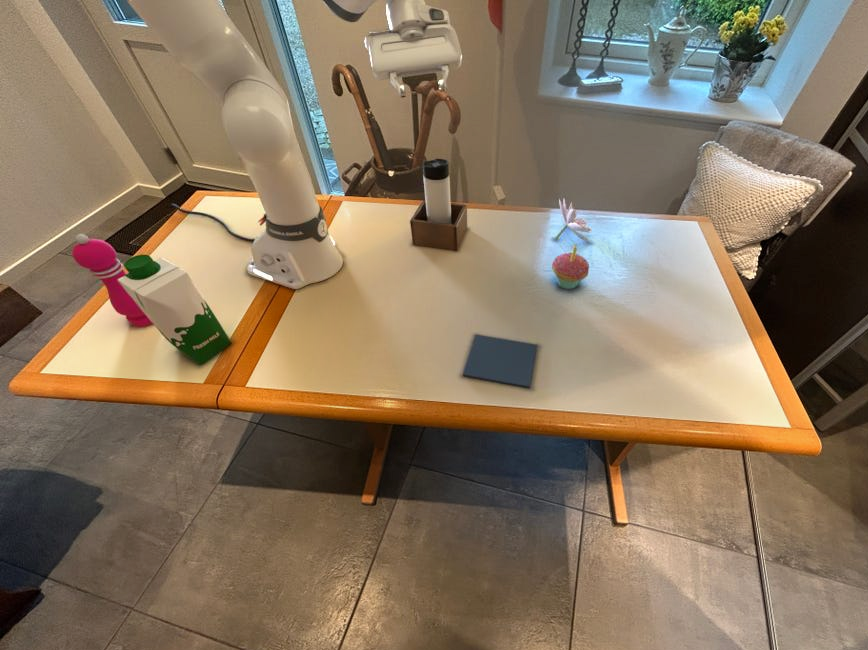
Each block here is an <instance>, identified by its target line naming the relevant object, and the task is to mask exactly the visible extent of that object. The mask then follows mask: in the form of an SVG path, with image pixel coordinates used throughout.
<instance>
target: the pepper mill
mask: <svg viewBox="0 0 868 650" xmlns="http://www.w3.org/2000/svg"><path fill="white" fill-rule="evenodd" d="M74 240H75V241H76V244H75V245H74V246H73V248H72V252H71V254H72V258H73V259H74V261H75V262H76V263H77V264H78V265H79V266H80V267H82V268H85V269H88V272H89V273H90V274H91V275H92V277H94V278H95V279H99V280H100V281H101V282H102V283H103V285H104V287H105V288H106V291H107V294H108V298H109V301H110V305H111V306H112V308H113V310H114V311H115V312H116V313H117V314H119V315H122V316H124V317H125V318H126V320H127V321H128V322H129V323H130V324H131V325H132V326H134V327H141V328H142V327H147V326H150V325H154V324H153V323H152V322H151V321H150V319H149V318H148V317H147V316H146V315H145V313H144V312H143V311H142V310H141V309H140V307H139V306H138V305H137V304H136V302H135V301H134V300H133V299H132V297H131V296H130V295H129V294H128V293H127V292H126V290H125V289H124V288H123V286H122V285H121V284H120V283H119V281H118V279H119V278H121V277H124V275H126V274H127V273H126V271H125V270H124V263H121V261H120V259H118V258H117V251H116V250H115V248H114V247H113V246H112V245H111V244H110V243H109V242H106V241H105V240H102V239H98V238H89V237H88V236H87V235H86V234H83V233H78V234H76V235H75V237H74Z"/></svg>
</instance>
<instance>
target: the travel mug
mask: <svg viewBox="0 0 868 650" xmlns="http://www.w3.org/2000/svg"><path fill="white" fill-rule="evenodd" d="M422 177H423V184H424V185H423V187H424V198H425V199H424V200H426V210H427V221H429V222H436V223H444V224H452V223H451V203H452V202H451V179H450V163H449V160H447V159H444V158H434V159H430V160H425V161H423V162H422Z"/></svg>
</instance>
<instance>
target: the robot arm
mask: <svg viewBox="0 0 868 650" xmlns="http://www.w3.org/2000/svg"><path fill="white" fill-rule="evenodd" d="M321 1H322V3H323V4H324V5H325V6H326V7H327V8H328V10H329V11H330V12H331V13H332V14H333V15H334V16H335V17H337V18H338V19H340V20H343V21H344V22H348V23H356V22H359V20H360V19H361V18H362V17H363V15H364V14H365V13H366V12H367V11H368V9H369V8H370V7H371V6H372V5H373V4H374V3H376V2H377V0H321ZM126 2H127V3H128V4H129V6H130V7H131V8H132V10H133V11H134V12H135V13H136V14H137V15H138V17H139V18H140V20H142V22H143V23H144V24H145V25H146V26H147V28H148V29H149V30H150V31H151V32H152V34H153V35H154V36H155V38H156V39H157V40H158V41H159V42H160V43H161V45H162V46H163V48H164V49H165V50H166V51H167V52H168V53H169V54H170V57H172V58H173V60H174V61H176V63H177V64H179V65H180V66H182V67H183V68H185V70H186V71H187V72H189V73H190V74H191V75H192V76H193V77H195V78H196V79H197V81H198V82H199V83H200V84H202V85H203V86H204V87H205V88H206V89H207V90H208V92H210V94H211V95H212V96H213V97H214V98H215V99H216V100H217V102H218V103H219V105H220V106H221V124H222V128H223V131H224V133H225V136H226V138H227V140H228V142H229V144H230V146H231V147H232V149H233V150H234V152H235V154H236V156H237V159H238V160H239V162H240V164H241V165H242V167H243V168H244V170H245V172H246V173H247V175H248V177H249V178H250V180H251V183H252V185H253V187H254V189H255V191H256V193H257V196H258V198H259V201H260V203H261V206H262V207H263V210H264V213H263V216H262V217H260V219H259V220H258V221H257V222H258V223H259V226H262V225H264V224H265V228H264V229H263V231H261V233H260V234H258V235H257V236H256V237H255V238H249V237H245V236H242V235H239V234H237V233H235V232H233V231H232V230H231V229H230V228H229V227H228V225H227V224H226V223H225V222H224V221H223V220H221V219H219V218H218V217H216V216H214V215H212V214H209V213H206V212H200V211H192V210H186V209H185V208H184V209H183V208H182V207H180V206H178V205H177V204H175V203H171V204H170V205H169V208H170V209H173V208H175V209H176V210H178V211H180V212H181V213H184V214H190V215H195V216H196V215H197V216H204V217H206V218H210V219H212V220H214V221H215V222H217V223H219V224H220V225H221V226H223V228H224V229H225V230H226V232H227V233H228V234H229V235H231V236H232V237H234V238H237V239H239V240H242V241H245V242H249V243H250V242H252V245H251V249H250V251H251V256H252V257H251V258H250V260H249V261H248V264H247V267H246V271H247V274H248V275H250V276H253V277H256V278H259V279H262V280H265V281H268V282H271V283H274V284H277V285H280V286H283V287H286V288H289V289H292V290H298V289H299V290H300V289H301V288H303V287H305V286H307V285H311V284H314V283H319V282H323V281H325V280H327V279H329V278H332V277H333V276H335V275H336V274H337V273H338V272H339V271H340V270H341V268H342V267H343V263H344V258H343V256H342V255H341V253H340V252H339V250H338V249H337V247H336V242H335V241H334V239H333V237H332V236H331V235H330V233H329V230H328V223H327V220H326V217H325V213H324V211H323V208H322V206H321V205H320V204H319V201H318V198H317V194H316V191H315V189H314V184H313V181H312V178H311V175H310V172H309V169H308V167H307V164H306V161H305V159H304V156H303V153H302V150H301V147H300V144H299V140H298V137H297V135H296V131H295V128H294V124H293V120H292V114H291V109H290V104H289V103H290V102H289V100H288V97H287V95H286V93H285V91H284V90H283V88H282V87H281V85H280V84H279V83H278V81H277V80H276V78H275V77H274V75H273V74H272V72H271V71H270V70H269V69H268V67H267V66H266V65H265V63H264V62H263V61H262V59H261V57H259V55H258V54H257V52H256V51H255V50H254V48H253V47H252V46H251V45H250V44H249V41H247V39H246V38H245V37H244V36H243V34H242V33H241V32H240V31H239V29H238V28H237V27H236V25H235V23H234V22H233V20H232V19H231V18H230V16H229V15H228V14H227V12H226V10H225V8H224V7H223V6H222V4H221V3H220V1H219V0H126ZM384 2H385V4H386V7H385V8H386V17H387V21H388V26H389V28H383V29H380V30H371V31H369V33H368V34H366V35H365V37H364V46H365V49H366V52H367V53H368V54H369V58H370V63H371V71H372V74H373V77H374V78H375V79H376V80H377V81H385V80H390V83H391V85H392V86H393V87H394V88H395V90H396V91H397V93H398V98H399V99H401V98H406V97H407V95H406V90H405V85H401V84H400V83H399V82H398V79H400V78H407V77H414V76H421V75H428V74H434V73H441V76H442V79H439V80H438V87H439V92H440V93H441V92H442V93H443V92H447V90H448V86H447V85H448V84H447V81H448V77H449V71H457V70H459V69H460V68H461V66H462V63H463V53H462V49H461V45H460V40H459V38H458V34H457V32H456V30H455V28H454V27H453V26H452V25H451V22H450V21H451V20H450V14H449V12H448V11H447V10H446V9H443V8H438V7H434V6H430V5H427V4H426V2H425V0H384ZM180 208H181V209H180Z"/></svg>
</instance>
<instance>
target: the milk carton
mask: <svg viewBox="0 0 868 650" xmlns="http://www.w3.org/2000/svg"><path fill="white" fill-rule="evenodd" d="M123 268H124V269H125V270H126V271H127V272H128V273H126V275H124V277H121V278H119V279H118V281H119V283H120V284H121V285H122V286H123V288H124V289H125V290H126V292H127V293H128V294H129V295H130V296H131V297H132V299H133V300H134V301H135V302H136V304H137V305H138V306H139V307H140V309H141V310H142V311H143V312H144V313H145V315H146V316H147V317H148V318H149V319H150V321H151V322H152V323H153V324H152V325H153V326H154V327H155V328H156V329H157V330H158V331H159V332H160V334H161V335H162V336H163V337H164V338H165V339H166V341H167V342H169V343H170V344H171V345H172V346H173V347H174V348H175V349H177V350H178V351H179V352H180V353H182V354H183V355H185V356H186V357H188V358H189V359H191V360H193V361H194V362H195V363H197V364H198V365H200V366H202V365H204V364H205V363H206V362H207V361H210V360H211V359H212V358H214V357H215V356H216V355H218V354H219V353H220V352H222V351H223V350H224V349H226V348H227V347H228V348H229V346H230V345H232V344H233V342H232V340H231V339H230V338H229V335H228V334H227V333H226V331H225V329H224V328H223V326H222V325H221V322H220V321H219V319H218V318H217V316H216V315H215V313H214V312H213V310H212V309H211V307H210V306H209V304H208V303H207V301H206V300H205V298H204V297H203V295H202V294H201V292H200V291H199V289H198V288H197V287H196V285H195V284H194V282H193V280H192V278H191V277H190V275H189V273H188V271H186V270H184V269H181V267H180V266H178V265H176V264H174V263H172V262H170V261H168V260H167V259H165V258H162V257H159V258H157V259H155V260H154V259H153V258H152V257H151V255H148V254H137V255H134V256H131V257H129V258H127V260H125V261H124V263H123Z"/></svg>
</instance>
